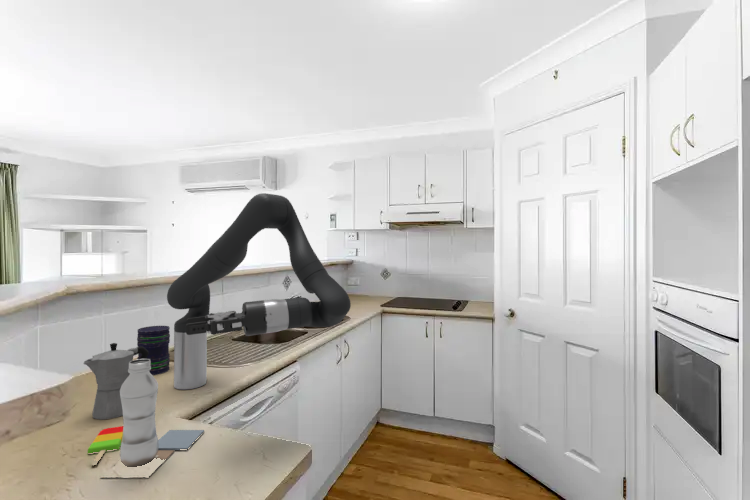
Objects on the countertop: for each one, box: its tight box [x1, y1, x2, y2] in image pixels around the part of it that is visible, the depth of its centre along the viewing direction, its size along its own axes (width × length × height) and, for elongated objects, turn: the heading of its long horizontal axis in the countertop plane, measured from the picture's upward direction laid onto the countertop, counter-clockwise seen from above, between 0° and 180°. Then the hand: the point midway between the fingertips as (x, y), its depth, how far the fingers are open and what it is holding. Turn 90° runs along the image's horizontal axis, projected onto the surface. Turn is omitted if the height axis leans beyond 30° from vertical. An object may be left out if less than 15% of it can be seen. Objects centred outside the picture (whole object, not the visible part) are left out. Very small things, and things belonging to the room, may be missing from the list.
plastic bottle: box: [119, 358, 159, 467], centre depth 74 cm, size 6×7×20 cm
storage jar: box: [136, 325, 171, 376], centre depth 131 cm, size 10×10×15 cm
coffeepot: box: [83, 342, 148, 421], centre depth 99 cm, size 15×9×18 cm, turn 150°
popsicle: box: [87, 425, 124, 462], centre depth 80 cm, size 6×15×2 cm, turn 21°
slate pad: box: [158, 429, 205, 450], centre depth 83 cm, size 8×8×1 cm
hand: (186, 326), depth 79 cm, fingers open, 8 cm apart
